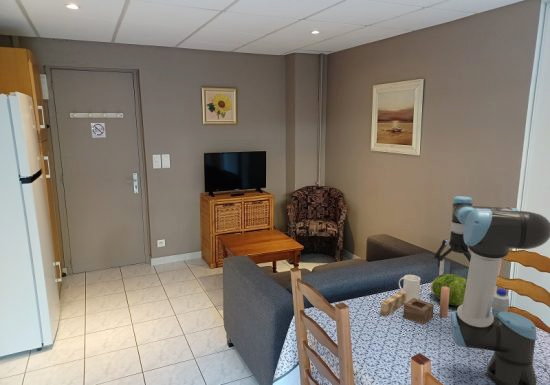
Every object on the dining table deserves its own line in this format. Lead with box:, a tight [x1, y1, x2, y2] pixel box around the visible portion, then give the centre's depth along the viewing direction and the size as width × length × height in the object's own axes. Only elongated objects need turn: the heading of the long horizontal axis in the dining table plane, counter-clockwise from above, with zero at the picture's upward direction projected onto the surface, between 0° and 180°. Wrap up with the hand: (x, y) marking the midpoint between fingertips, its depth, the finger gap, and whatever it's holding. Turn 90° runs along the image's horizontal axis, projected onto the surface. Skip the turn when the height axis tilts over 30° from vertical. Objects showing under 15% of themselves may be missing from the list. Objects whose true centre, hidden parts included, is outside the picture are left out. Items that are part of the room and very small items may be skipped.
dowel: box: [438, 286, 450, 319], centre depth 186 cm, size 4×4×14 cm
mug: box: [398, 274, 421, 303], centre depth 205 cm, size 12×8×12 cm
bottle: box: [491, 288, 510, 317], centre depth 170 cm, size 7×7×20 cm
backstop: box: [380, 290, 407, 317], centre depth 193 cm, size 20×3×6 cm, turn 136°
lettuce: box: [430, 273, 467, 307], centre depth 201 cm, size 16×21×15 cm
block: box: [402, 298, 435, 325], centre depth 185 cm, size 10×10×6 cm
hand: (456, 278), depth 174 cm, fingers open, 13 cm apart
